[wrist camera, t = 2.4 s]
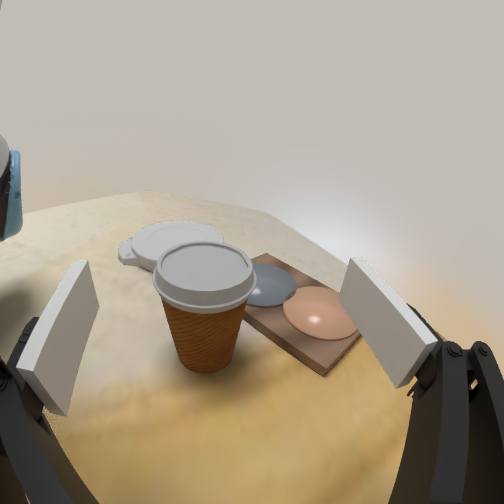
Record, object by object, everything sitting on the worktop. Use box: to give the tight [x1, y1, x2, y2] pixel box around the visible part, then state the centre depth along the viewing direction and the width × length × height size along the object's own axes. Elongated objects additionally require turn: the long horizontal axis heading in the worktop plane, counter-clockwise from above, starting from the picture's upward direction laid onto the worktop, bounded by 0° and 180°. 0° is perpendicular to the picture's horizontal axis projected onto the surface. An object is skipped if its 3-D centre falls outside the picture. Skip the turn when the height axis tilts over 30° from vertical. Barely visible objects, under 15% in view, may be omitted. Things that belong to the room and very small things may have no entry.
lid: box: [118, 220, 224, 272], centre depth 49 cm, size 17×20×3 cm
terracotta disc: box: [283, 286, 357, 341], centre depth 36 cm, size 11×11×1 cm
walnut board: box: [243, 253, 361, 376], centre depth 38 cm, size 22×14×2 cm, turn 44°
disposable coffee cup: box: [153, 241, 257, 373], centre depth 27 cm, size 10×10×12 cm
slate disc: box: [246, 262, 297, 308], centre depth 40 cm, size 11×11×1 cm
